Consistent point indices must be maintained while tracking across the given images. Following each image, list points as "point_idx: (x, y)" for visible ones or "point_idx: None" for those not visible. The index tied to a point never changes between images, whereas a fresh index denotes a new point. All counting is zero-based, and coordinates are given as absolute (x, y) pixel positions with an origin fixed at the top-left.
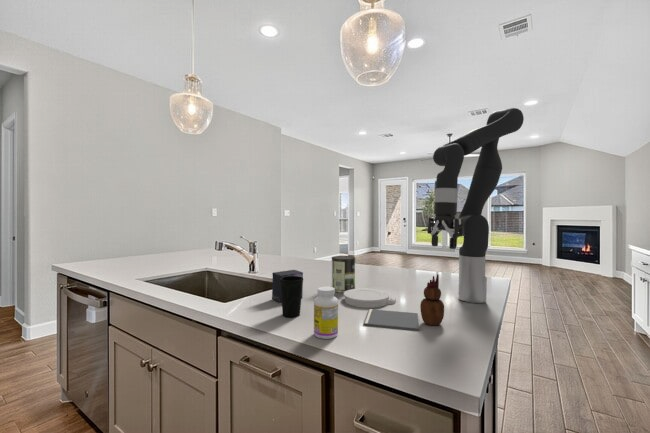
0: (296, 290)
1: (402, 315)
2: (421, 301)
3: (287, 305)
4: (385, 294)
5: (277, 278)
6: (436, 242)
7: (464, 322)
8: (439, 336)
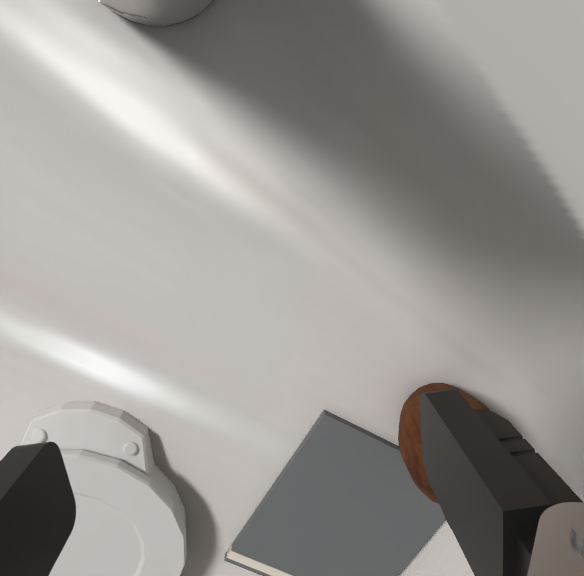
0: None
1: (333, 479)
2: (435, 502)
3: None
4: (92, 474)
5: None
6: (32, 506)
7: (466, 277)
8: (534, 447)
